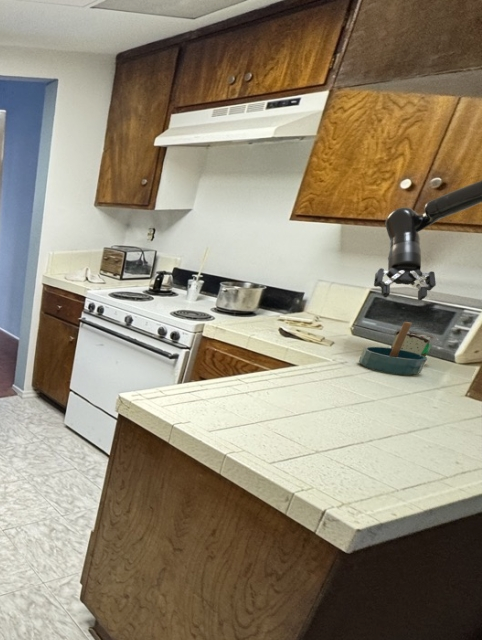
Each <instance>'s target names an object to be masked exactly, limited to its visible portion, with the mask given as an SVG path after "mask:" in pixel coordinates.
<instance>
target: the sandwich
mask: <svg viewBox="0 0 482 640" xmlns="http://www.w3.org/2000/svg"><path fill="white" fill-rule="evenodd" d="M400 330H401V328H400V329H396V330H395V331H394V332H393V334H392V335H393V340H392V343H391V346H390V348H393V346H394V344H395V342H396V339H397V337H398V335H399V332H400ZM437 344H438V336H437V335H435V334H432V333H428V332H424V331H417V330H412V329H411V330H410V329H409V331H408V333H407V336H406V338H405V340H404V342H403V345H402V347H401V349H400V350H405V351H409V352H414V353H417V354H420V355H423V356H425V357H427V355H428V353H429V352H430V350H431V348H432V347H433V346H434V345H437Z"/></svg>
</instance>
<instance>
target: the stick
mask: <svg viewBox="0 0 482 640" xmlns="http://www.w3.org/2000/svg"><path fill="white" fill-rule="evenodd" d="M412 324H413V322H408V321H403V323H402V326H401V328H400V332H399V335H398V337H397V339H396V342H395V344H394V346H393V348H392V351H391V353H390V355H389V356H392V357H397V356H398V354H399V351H400V349H401V347H402V345H403V342H404V340H405V338H406V336H407V333H408V331H409V330H410V328H411V327H412Z"/></svg>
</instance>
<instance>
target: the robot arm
mask: <svg viewBox="0 0 482 640" xmlns="http://www.w3.org/2000/svg"><path fill="white" fill-rule="evenodd" d="M481 203H482V180H479V181H477V182H474V183H471V184H468V185H466V186H462V187H460V188H458V189H455V190H453V191H450V192H448V193H446V194H442V195H441V196H438V197H436V198H435V197H434V198H433V199H431V200H429V201H428V202H426V203H425V204H424V212H423V213H420V214H419V213H417V212H416V211H415V210H414V209H412V208H410V207H406V206H405V207H398V208H395V209H394V210H393V211H391V212H390V213H389V214H388V216H387V217H386V219H385V229H386V232H387V236H388V239H389V252H388V257H387V263H388V264H387V270H385V269H384V268H382V267H381V268H379V269H378V270H377V272H375V273H374V280H373V287H375V288H377V287H378V288H380V289H381V291H380V295H381V296H383V298H388V297H389V296H390V293H391V285H393V284H394V283H395V285H406V286H411V287H412V288H415V289H416V290H418V291H417V300H418V301H423V300H424V299H426V297H427V296H428V291H429V292H430V291H432V289H433V288H434V287H436V286H437V282H436V274H435V271H432V270H431V271H429V272H422V270H421V269H422V250H421V243H420V242H421V238H420V233H419V232H421V231H423V230H425V229H426V228H428V227H430V226H431V225H433V224H434V223H436V222H438V221H439V220H441V219H444V218H446V217H450V216H452V215H455V214H458V213H460V212H462V211H465V210H468V209H470V208H472V207H475V206H477V205H480V204H481ZM385 276H386V277H387V278H389V279H387V280H386V281H383V280H384V277H385Z"/></svg>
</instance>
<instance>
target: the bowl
mask: <svg viewBox="0 0 482 640" xmlns="http://www.w3.org/2000/svg"><path fill="white" fill-rule="evenodd" d="M391 351H392V348H391V347H387V346H386V347H385V346H364V348H363V350H362V353H361V355H360V357H359V360H358V363H359V364H361V366H362V367H364V368H366V369H369V370H373V371H376V372H380V373H385V374H390V375H396V376H397V375H398V376H414V375H418V374H421V373H422V370H423V368H424V366H425V364H426V363H427V360H428V357H427V356H426V357H425V356H423V355H420V354H417V353H414V352H409V351H405V350H400V351H399V354H398V356H397V357H392V356H389V355H390V353H391Z"/></svg>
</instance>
